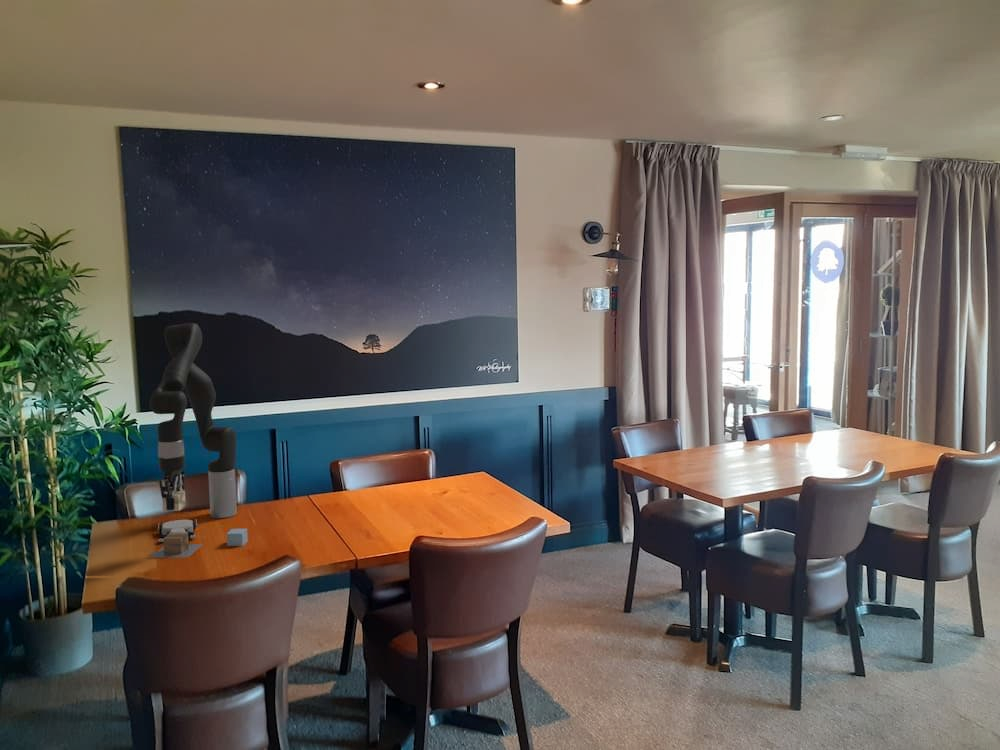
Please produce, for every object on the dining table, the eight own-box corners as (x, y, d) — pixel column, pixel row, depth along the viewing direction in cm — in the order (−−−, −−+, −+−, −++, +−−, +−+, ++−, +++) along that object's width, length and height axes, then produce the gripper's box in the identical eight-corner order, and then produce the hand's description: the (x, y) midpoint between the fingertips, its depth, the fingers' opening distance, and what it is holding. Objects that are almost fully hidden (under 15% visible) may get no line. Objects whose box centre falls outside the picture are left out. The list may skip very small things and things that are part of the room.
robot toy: (197, 545, 248) (197, 528, 262) (196, 532, 247) (196, 516, 261) (157, 550, 244) (159, 533, 257) (156, 537, 243) (158, 520, 256)
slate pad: (166, 546, 244) (166, 544, 243) (202, 546, 244) (202, 544, 243) (149, 560, 232) (148, 557, 231) (187, 559, 232) (187, 557, 232)
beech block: (170, 506, 238) (169, 491, 238) (185, 506, 238) (184, 490, 238) (163, 510, 233) (162, 495, 233) (179, 510, 233) (178, 495, 233)
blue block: (232, 543, 247) (232, 528, 246) (247, 543, 247) (247, 528, 246) (227, 548, 242) (226, 533, 241) (242, 548, 242) (242, 533, 242)
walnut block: (171, 547, 240) (170, 532, 240) (188, 547, 240) (187, 532, 240) (164, 553, 235) (163, 538, 234) (181, 553, 235) (180, 538, 234)
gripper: (169, 449, 241) (172, 500, 243) (148, 459, 227) (152, 514, 229) (192, 449, 241) (195, 500, 243) (173, 459, 227) (176, 513, 229)
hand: (174, 506), depth 236 cm, fingers closed on beech block, 5 cm apart
